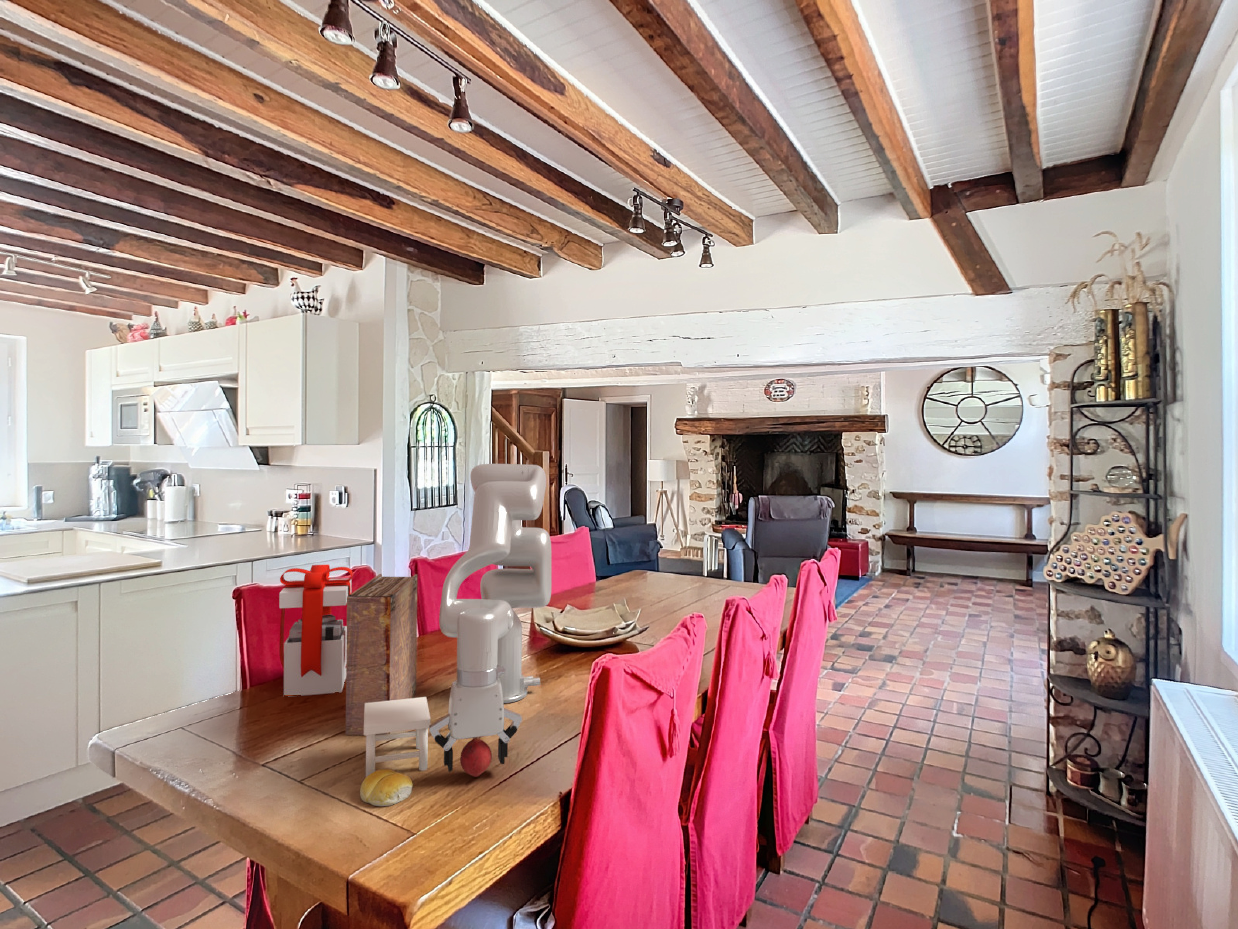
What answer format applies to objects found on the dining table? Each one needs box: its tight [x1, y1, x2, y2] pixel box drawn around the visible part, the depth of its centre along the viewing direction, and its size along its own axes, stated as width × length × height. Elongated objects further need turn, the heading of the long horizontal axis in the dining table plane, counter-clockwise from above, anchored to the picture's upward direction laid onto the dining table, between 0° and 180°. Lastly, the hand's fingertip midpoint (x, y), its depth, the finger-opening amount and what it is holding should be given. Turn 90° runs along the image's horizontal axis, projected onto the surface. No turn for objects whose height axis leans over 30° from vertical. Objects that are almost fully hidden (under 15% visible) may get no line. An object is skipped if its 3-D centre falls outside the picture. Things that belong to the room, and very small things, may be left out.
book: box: [345, 573, 418, 736], centre depth 158 cm, size 25×9×30 cm, turn 4°
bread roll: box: [359, 768, 413, 807], centre depth 122 cm, size 8×9×4 cm
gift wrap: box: [278, 564, 354, 696], centre depth 174 cm, size 17×17×30 cm
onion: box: [459, 737, 493, 778], centre depth 129 cm, size 6×6×8 cm
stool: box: [363, 696, 432, 778], centre depth 135 cm, size 12×12×10 cm
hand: (475, 764), depth 129 cm, fingers open, 9 cm apart
